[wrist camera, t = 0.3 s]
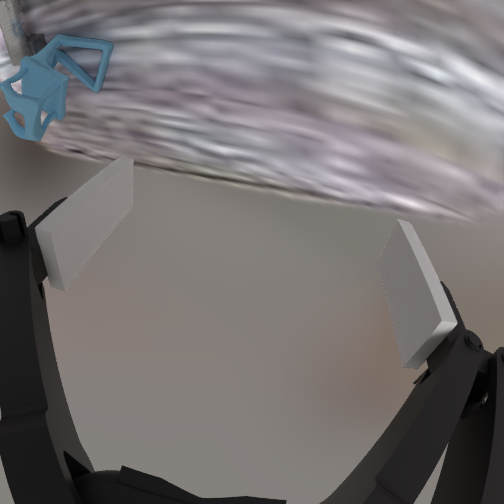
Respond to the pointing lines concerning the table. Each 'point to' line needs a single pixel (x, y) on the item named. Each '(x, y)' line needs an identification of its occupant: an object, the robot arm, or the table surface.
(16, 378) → the robot arm
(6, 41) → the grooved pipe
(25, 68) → the chair
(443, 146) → the table surface
